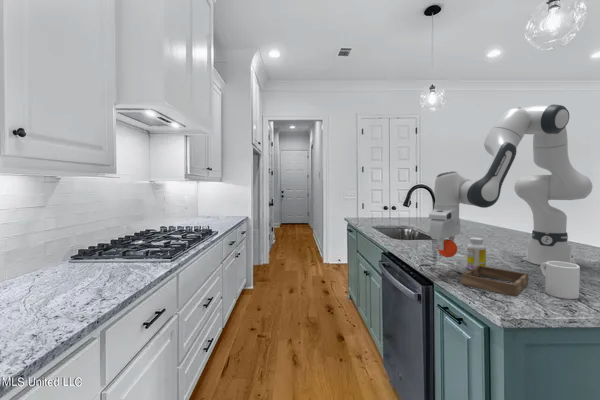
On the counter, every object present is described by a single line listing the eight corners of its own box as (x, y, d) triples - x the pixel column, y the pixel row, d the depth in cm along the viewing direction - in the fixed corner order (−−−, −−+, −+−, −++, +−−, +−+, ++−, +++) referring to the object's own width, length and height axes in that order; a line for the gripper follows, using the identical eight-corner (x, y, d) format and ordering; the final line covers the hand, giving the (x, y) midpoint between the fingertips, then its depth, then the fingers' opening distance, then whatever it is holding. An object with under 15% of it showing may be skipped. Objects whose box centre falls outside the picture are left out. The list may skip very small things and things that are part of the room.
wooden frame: (477, 274, 118) (478, 265, 118) (528, 283, 106) (528, 274, 106) (461, 284, 106) (461, 274, 106) (515, 296, 95) (515, 285, 94)
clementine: (431, 255, 121) (431, 237, 121) (445, 253, 123) (445, 236, 123) (447, 259, 113) (447, 241, 113) (461, 258, 116) (461, 239, 115)
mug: (551, 285, 104) (551, 257, 103) (586, 298, 92) (587, 267, 91) (529, 286, 103) (529, 258, 103) (561, 299, 91) (562, 268, 91)
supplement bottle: (485, 268, 126) (486, 237, 125) (485, 272, 120) (486, 240, 120) (467, 266, 130) (467, 236, 129) (466, 269, 124) (466, 239, 123)
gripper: (448, 211, 127) (448, 243, 127) (426, 214, 113) (426, 250, 114) (464, 211, 122) (464, 245, 123) (444, 215, 108) (443, 253, 109)
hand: (446, 248), depth 118 cm, fingers closed on clementine, 7 cm apart
